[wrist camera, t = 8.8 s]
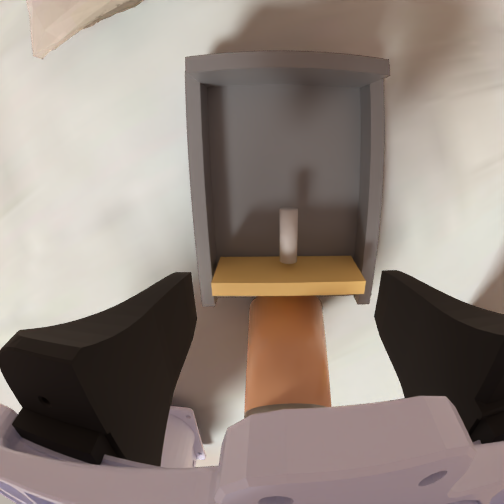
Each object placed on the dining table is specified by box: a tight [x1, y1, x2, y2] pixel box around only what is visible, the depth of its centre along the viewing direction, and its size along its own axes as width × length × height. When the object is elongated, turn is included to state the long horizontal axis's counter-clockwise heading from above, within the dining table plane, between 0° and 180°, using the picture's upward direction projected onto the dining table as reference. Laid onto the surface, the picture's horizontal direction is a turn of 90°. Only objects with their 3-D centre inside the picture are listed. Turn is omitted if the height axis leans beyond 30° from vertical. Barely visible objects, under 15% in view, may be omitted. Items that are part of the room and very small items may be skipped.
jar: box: [244, 295, 331, 419], centre depth 18 cm, size 5×5×8 cm
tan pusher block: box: [211, 207, 366, 296], centre depth 18 cm, size 4×8×4 cm, turn 92°
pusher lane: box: [185, 51, 390, 306], centre depth 16 cm, size 14×11×6 cm
